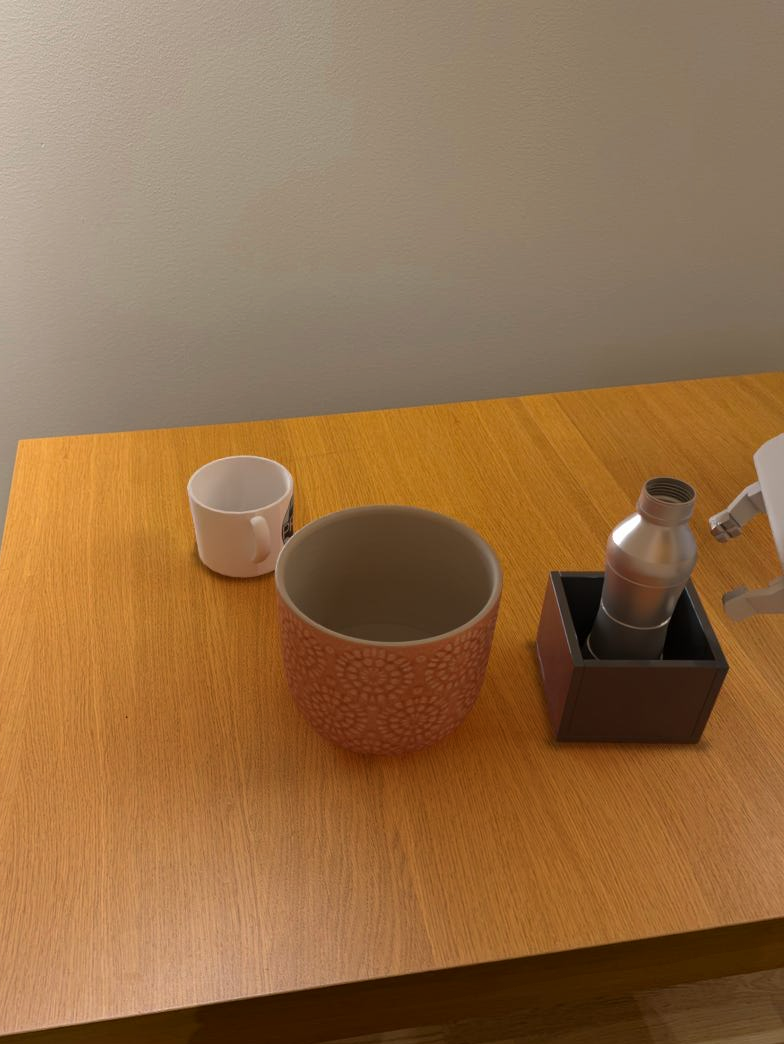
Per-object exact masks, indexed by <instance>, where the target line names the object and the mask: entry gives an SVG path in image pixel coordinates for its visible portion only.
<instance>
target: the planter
mask: <svg viewBox="0 0 784 1044" xmlns="http://www.w3.org/2000/svg"><path fill="white" fill-rule="evenodd" d="M501 564H502V563H501V562H500V559H499V556H498V555H497V553H496V552H495V550H494V549H493V547H492V545H490V543H489V542H488V541H487V540H486V539H485V538H483V536H481V535H480V533H478V532H477V531H475V530H474V529H473V528H471V527H470V526H468V525H467V524H464V523H463V522H461V521H460V520H457V519H455V518H454V517H450V516H448V515H446V514H444V513H439V512H437V511H434V510H430V509H426V508H421V507H417V506H411V505H404V504H403V505H402V504H369V505H360V506H353V507H348V508H343V509H340V510H336V511H333V512H330V513H328V514H325V515H323V516H321V517H318V518H316V519H314V520H312V521H310V522H309V523H307V524H306V525H304V526H303V527H301V528H300V529H298V530H297V531H296V532H294V533H293V536H292V537H291V538H290V539H289V540H288V541H287V543H286V544H285V545H284V547H283V548H282V550H281V552H280V554H279V556H278V559H277V562H276V566H275V570H274V589H275V601H276V611H277V621H278V631H279V632H278V633H279V641H280V642H279V643H280V650H281V652H280V653H281V658H282V666H283V673H284V677H285V681H286V684H287V687H288V691H289V695H290V697H291V699H292V702H293V703H294V706H295V708H296V709H297V712H298V713H299V714H300V716H301V717H302V718H303V719H304V721H305V722H306V724H308V726H309V727H310V728H311V729H312V730H314V732H316V733H317V734H318V735H319V736H321V737H323V739H325V740H326V741H328V742H330V743H332V744H333V745H336V746H338V747H340V748H342V749H346V750H347V751H351V752H353V753H357V754H362V755H367V756H373V757H397V756H398V757H399V756H404V755H409V754H414V753H418V752H421V751H425V750H427V749H429V748H431V747H433V746H435V745H438V744H440V743H441V742H443V741H444V740H446V739H447V738H449V737H450V736H451V735H452V734H454V733H455V732H456V731H457V730H458V728H460V727H461V726H462V725H463V724H464V722H465V721H466V720H467V718H468V717H469V715H470V714H471V712H472V711H473V708H474V706H475V704H476V703H477V700H478V698H479V695H480V692H481V690H482V687H483V684H484V681H485V677H486V673H487V669H488V665H489V660H490V656H491V652H492V651H491V650H492V645H493V641H494V635H495V631H496V625H497V621H498V615H499V611H500V605H501V599H502V594H503V585H504V573H503V572H504V571H503V568H502V565H501Z"/></svg>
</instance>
